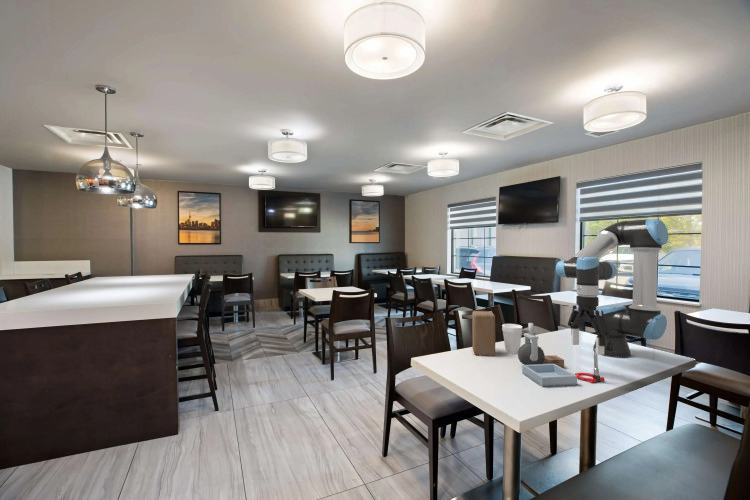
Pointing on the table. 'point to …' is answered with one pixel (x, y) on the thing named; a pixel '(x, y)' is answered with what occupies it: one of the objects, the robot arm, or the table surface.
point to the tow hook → (595, 376)
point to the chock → (554, 360)
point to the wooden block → (483, 333)
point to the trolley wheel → (531, 349)
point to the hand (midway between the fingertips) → (587, 349)
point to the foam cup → (512, 337)
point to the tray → (549, 375)
